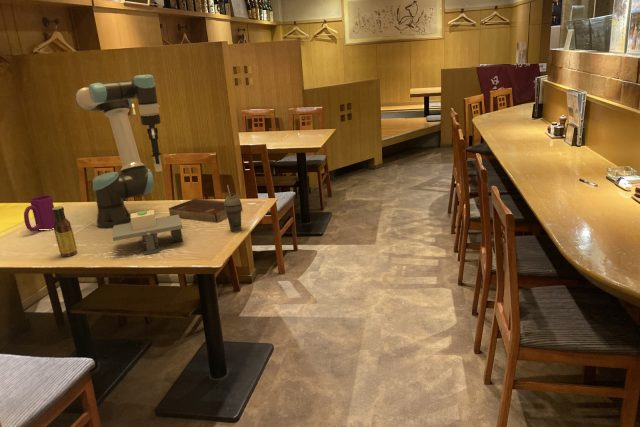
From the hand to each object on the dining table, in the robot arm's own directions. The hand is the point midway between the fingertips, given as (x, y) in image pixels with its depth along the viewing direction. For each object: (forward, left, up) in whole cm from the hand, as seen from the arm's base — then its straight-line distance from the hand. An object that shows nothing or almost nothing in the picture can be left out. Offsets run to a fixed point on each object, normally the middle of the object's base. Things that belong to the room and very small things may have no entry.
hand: (158, 170), depth 214 cm
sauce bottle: (-14, -38, -28) cm, 49 cm away
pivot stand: (+10, -10, -27) cm, 30 cm away
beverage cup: (+25, +16, -28) cm, 41 cm away
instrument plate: (+7, -14, -20) cm, 25 cm away
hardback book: (-7, +25, -28) cm, 38 cm away
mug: (-59, -30, -28) cm, 71 cm away
